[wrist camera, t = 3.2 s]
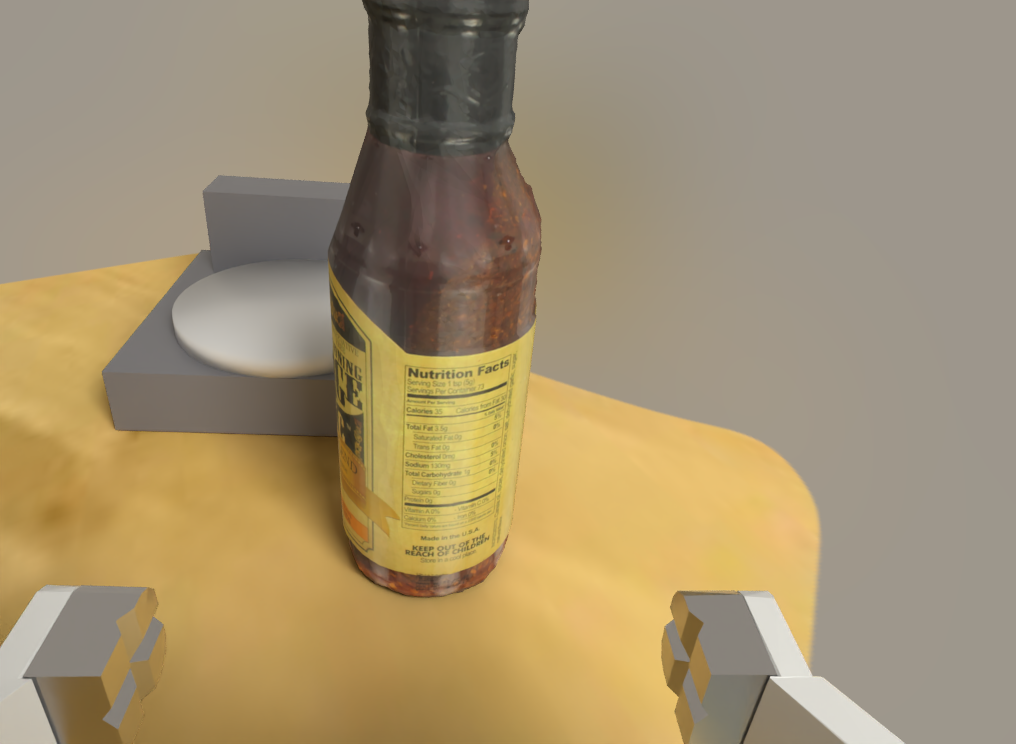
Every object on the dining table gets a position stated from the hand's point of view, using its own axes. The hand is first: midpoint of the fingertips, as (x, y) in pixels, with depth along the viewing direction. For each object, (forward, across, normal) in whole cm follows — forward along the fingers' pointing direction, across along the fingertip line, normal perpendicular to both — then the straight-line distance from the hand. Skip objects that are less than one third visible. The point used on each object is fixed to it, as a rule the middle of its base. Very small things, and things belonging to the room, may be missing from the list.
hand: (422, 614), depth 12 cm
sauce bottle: (+12, 0, +11) cm, 16 cm away
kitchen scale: (+26, +7, +10) cm, 29 cm away
